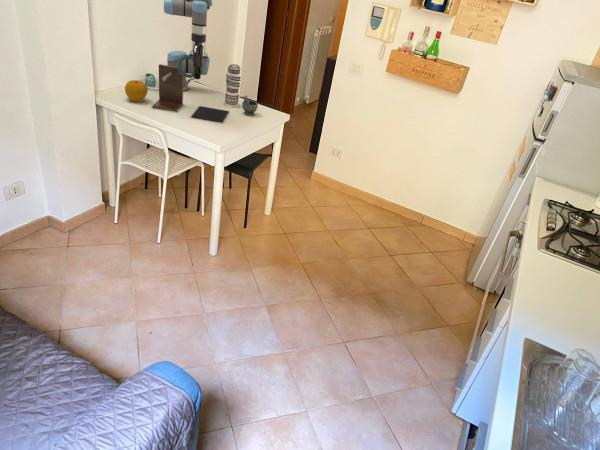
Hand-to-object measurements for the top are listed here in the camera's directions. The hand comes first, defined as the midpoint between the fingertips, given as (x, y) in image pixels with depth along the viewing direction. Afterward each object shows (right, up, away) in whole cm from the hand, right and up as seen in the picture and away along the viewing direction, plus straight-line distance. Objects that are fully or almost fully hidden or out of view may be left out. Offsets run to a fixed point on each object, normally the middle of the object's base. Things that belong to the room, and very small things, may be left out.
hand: (197, 78), depth 242 cm
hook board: (-22, -11, +16) cm, 29 cm away
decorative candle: (+13, -5, +37) cm, 40 cm away
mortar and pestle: (+25, -13, +28) cm, 40 cm away
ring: (-4, +5, -3) cm, 7 cm away
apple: (-40, -8, +17) cm, 44 cm away
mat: (+4, -16, +16) cm, 23 cm away
